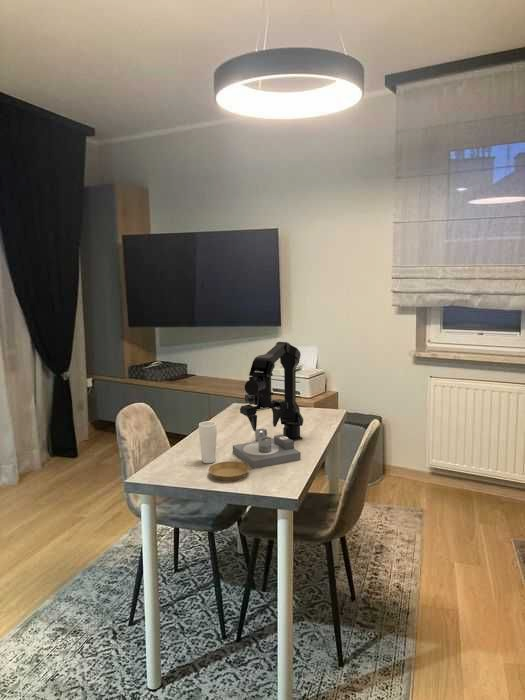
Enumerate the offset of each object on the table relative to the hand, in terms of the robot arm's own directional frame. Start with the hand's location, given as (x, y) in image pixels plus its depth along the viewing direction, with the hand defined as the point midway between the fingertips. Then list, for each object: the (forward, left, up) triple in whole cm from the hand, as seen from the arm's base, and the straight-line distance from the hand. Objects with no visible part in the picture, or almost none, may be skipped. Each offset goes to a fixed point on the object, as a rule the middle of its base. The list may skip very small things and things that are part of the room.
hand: (264, 428), depth 204 cm
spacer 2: (+1, +2, -8) cm, 9 cm away
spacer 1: (-7, -18, -12) cm, 23 cm away
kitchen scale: (-1, -1, -12) cm, 12 cm away
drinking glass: (+21, -6, -12) cm, 25 cm away
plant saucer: (+19, +10, -12) cm, 24 cm away
